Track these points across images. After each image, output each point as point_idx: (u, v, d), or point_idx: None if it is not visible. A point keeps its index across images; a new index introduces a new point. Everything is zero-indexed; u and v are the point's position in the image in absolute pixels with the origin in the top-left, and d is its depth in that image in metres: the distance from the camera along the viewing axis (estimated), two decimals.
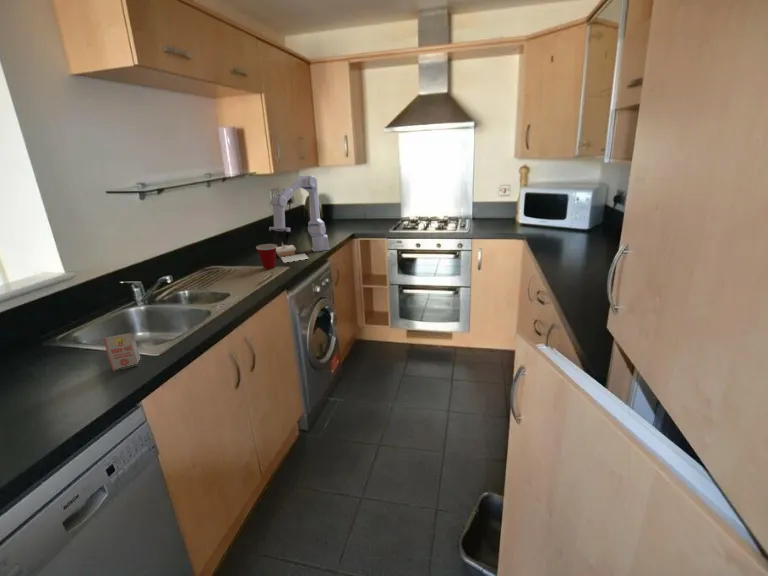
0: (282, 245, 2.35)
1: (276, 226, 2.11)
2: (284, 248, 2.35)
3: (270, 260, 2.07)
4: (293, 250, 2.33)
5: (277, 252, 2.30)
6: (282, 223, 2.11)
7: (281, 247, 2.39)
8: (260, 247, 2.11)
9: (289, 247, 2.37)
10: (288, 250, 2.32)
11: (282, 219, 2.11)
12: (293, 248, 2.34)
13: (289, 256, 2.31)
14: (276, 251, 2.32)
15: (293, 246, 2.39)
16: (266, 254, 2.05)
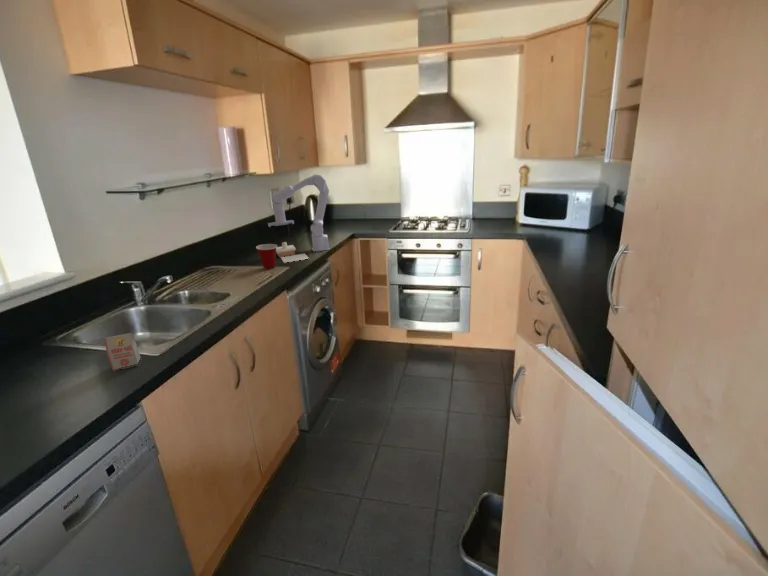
0: (282, 245, 2.35)
1: None
2: (284, 248, 2.35)
3: (270, 260, 2.07)
4: (293, 250, 2.33)
5: (277, 252, 2.30)
6: (275, 218, 2.30)
7: (281, 247, 2.39)
8: (260, 247, 2.11)
9: (289, 247, 2.37)
10: (288, 250, 2.32)
11: None
12: (293, 248, 2.34)
13: (289, 256, 2.31)
14: (276, 251, 2.32)
15: (293, 246, 2.39)
16: (266, 254, 2.05)
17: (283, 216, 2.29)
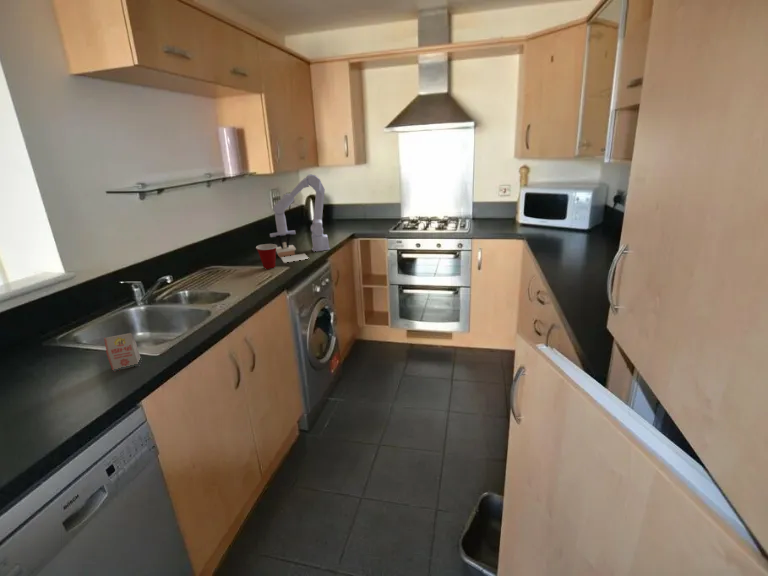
0: (282, 245, 2.35)
1: None
2: (284, 248, 2.35)
3: (270, 260, 2.07)
4: (293, 250, 2.33)
5: (277, 252, 2.30)
6: (277, 229, 2.32)
7: None
8: (260, 247, 2.11)
9: (289, 247, 2.37)
10: (288, 250, 2.32)
11: (276, 225, 2.32)
12: (293, 248, 2.34)
13: (289, 256, 2.31)
14: (276, 251, 2.32)
15: (293, 246, 2.39)
16: (266, 254, 2.05)
17: (285, 226, 2.31)
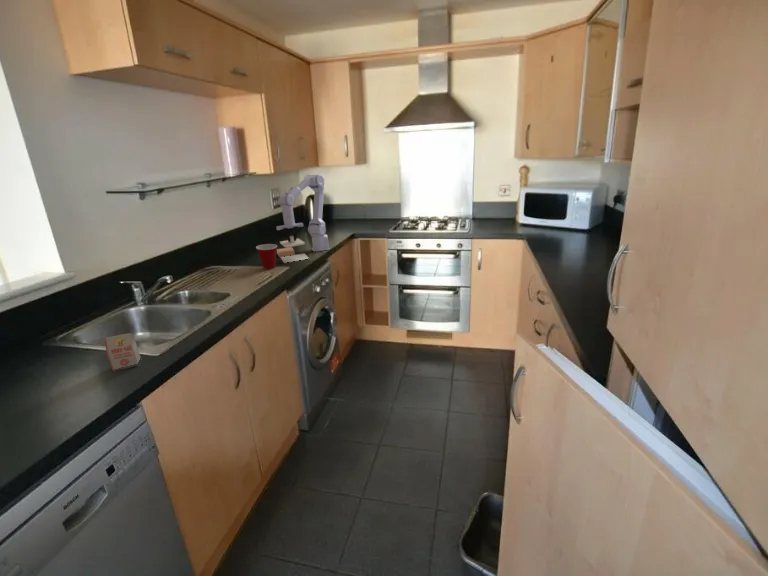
0: None
1: None
2: (291, 242, 2.24)
3: (270, 260, 2.07)
4: (302, 244, 2.22)
5: (286, 247, 2.18)
6: (284, 221, 2.20)
7: (287, 241, 2.27)
8: (260, 247, 2.11)
9: (296, 241, 2.26)
10: (297, 244, 2.21)
11: (283, 217, 2.19)
12: (302, 242, 2.23)
13: (289, 256, 2.31)
14: (284, 246, 2.20)
15: (300, 240, 2.28)
16: (266, 254, 2.05)
17: (292, 219, 2.19)
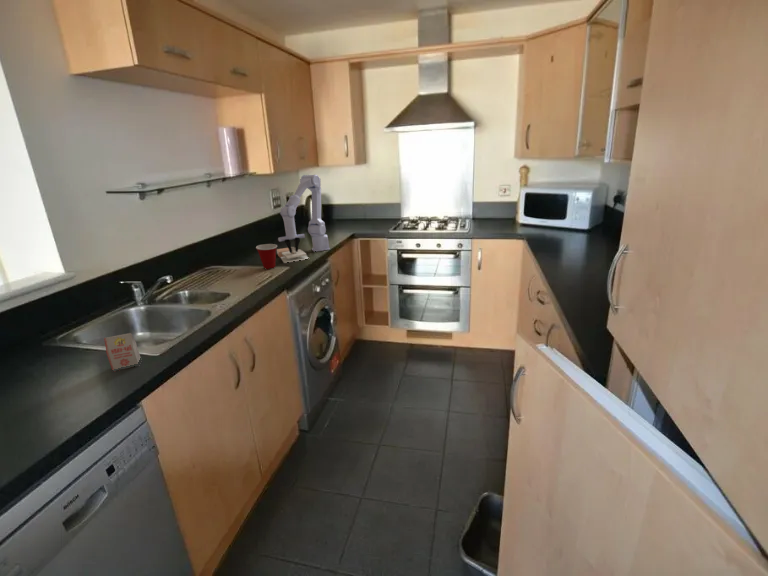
0: None
1: None
2: (293, 253, 2.26)
3: (270, 260, 2.07)
4: (303, 255, 2.25)
5: (287, 258, 2.20)
6: None
7: (289, 252, 2.29)
8: (260, 247, 2.11)
9: (298, 252, 2.28)
10: (298, 256, 2.23)
11: (285, 229, 2.21)
12: (303, 253, 2.25)
13: None
14: (286, 257, 2.22)
15: (301, 251, 2.30)
16: (266, 254, 2.05)
17: (294, 230, 2.21)
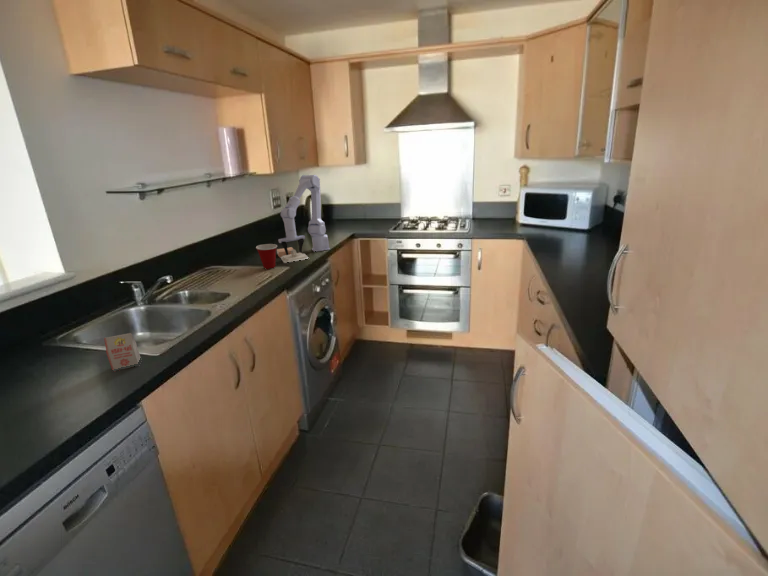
0: (291, 253, 2.26)
1: None
2: (294, 256, 2.26)
3: (270, 260, 2.07)
4: None
5: (288, 260, 2.21)
6: (286, 234, 2.22)
7: (289, 255, 2.29)
8: (260, 247, 2.11)
9: (298, 255, 2.28)
10: (299, 258, 2.24)
11: (285, 230, 2.21)
12: (303, 256, 2.25)
13: None
14: (286, 259, 2.22)
15: (302, 254, 2.30)
16: (266, 254, 2.05)
17: (294, 232, 2.21)
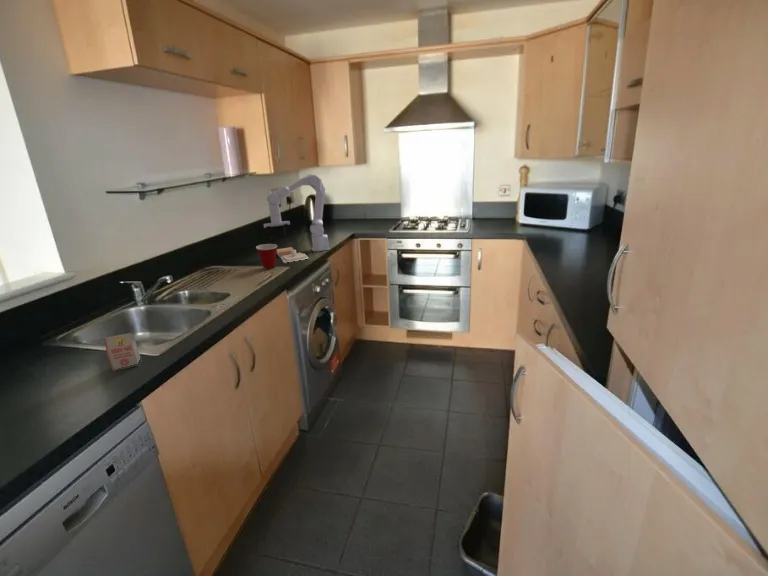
0: (291, 253, 2.26)
1: None
2: (294, 256, 2.26)
3: (270, 260, 2.07)
4: None
5: (288, 260, 2.21)
6: (271, 219, 2.28)
7: (289, 255, 2.29)
8: (260, 247, 2.11)
9: (298, 255, 2.28)
10: (299, 258, 2.24)
11: (270, 215, 2.27)
12: (303, 256, 2.25)
13: None
14: (286, 259, 2.22)
15: (302, 254, 2.30)
16: (266, 254, 2.05)
17: (279, 217, 2.27)
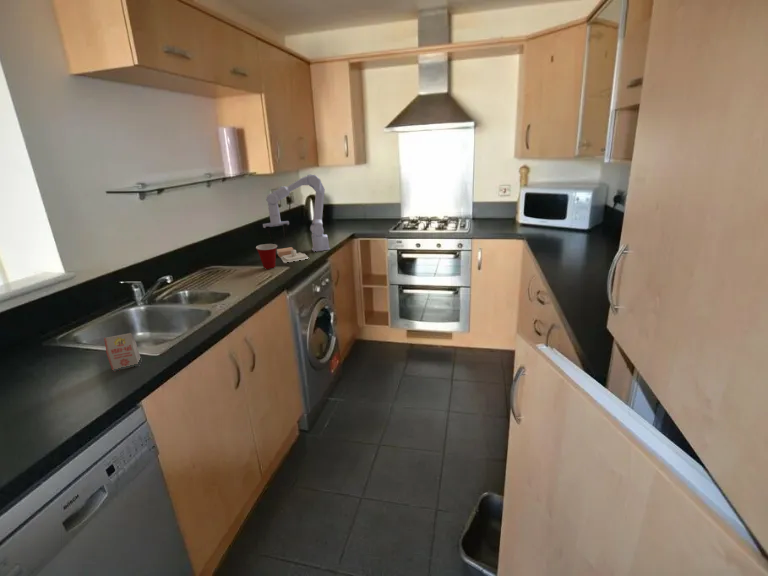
0: (291, 253, 2.26)
1: None
2: (294, 256, 2.26)
3: (270, 260, 2.07)
4: None
5: (288, 260, 2.21)
6: (270, 219, 2.29)
7: (289, 255, 2.29)
8: (260, 247, 2.11)
9: (298, 255, 2.28)
10: (299, 258, 2.24)
11: None
12: (303, 256, 2.25)
13: None
14: (286, 259, 2.22)
15: (302, 254, 2.30)
16: (266, 254, 2.05)
17: (278, 217, 2.27)
